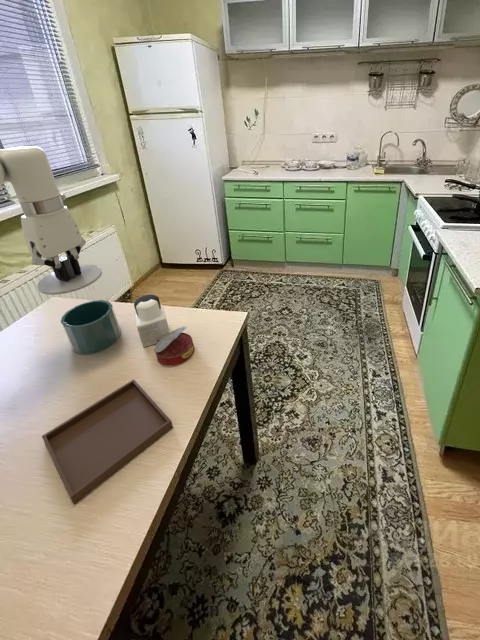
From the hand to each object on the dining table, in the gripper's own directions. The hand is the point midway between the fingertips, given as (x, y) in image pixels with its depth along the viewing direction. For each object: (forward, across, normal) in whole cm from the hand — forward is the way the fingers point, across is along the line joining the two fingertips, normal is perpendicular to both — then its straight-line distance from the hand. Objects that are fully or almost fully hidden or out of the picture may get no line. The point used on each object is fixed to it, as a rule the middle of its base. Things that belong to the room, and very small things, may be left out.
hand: (70, 276), depth 80 cm
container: (+24, -10, +11) cm, 29 cm away
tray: (+24, +18, +24) cm, 38 cm away
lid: (+1, 0, 0) cm, 1 cm away
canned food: (+24, -6, +22) cm, 33 cm away
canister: (+24, -3, -4) cm, 25 cm away
